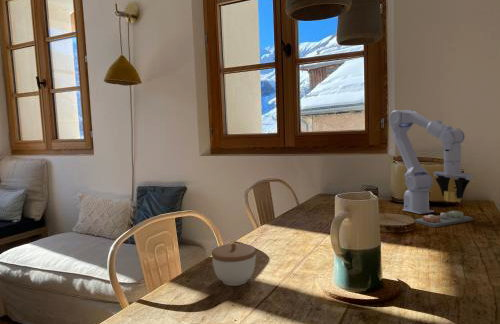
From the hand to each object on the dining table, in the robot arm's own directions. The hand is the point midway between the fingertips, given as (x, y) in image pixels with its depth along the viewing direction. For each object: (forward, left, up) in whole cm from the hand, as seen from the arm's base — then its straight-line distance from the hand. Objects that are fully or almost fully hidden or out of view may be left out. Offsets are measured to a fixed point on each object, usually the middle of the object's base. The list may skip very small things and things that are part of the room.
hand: (452, 196), depth 141 cm
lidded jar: (+15, -94, -9) cm, 96 cm away
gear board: (+1, -6, -8) cm, 10 cm away
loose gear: (0, 0, -1) cm, 1 cm away
